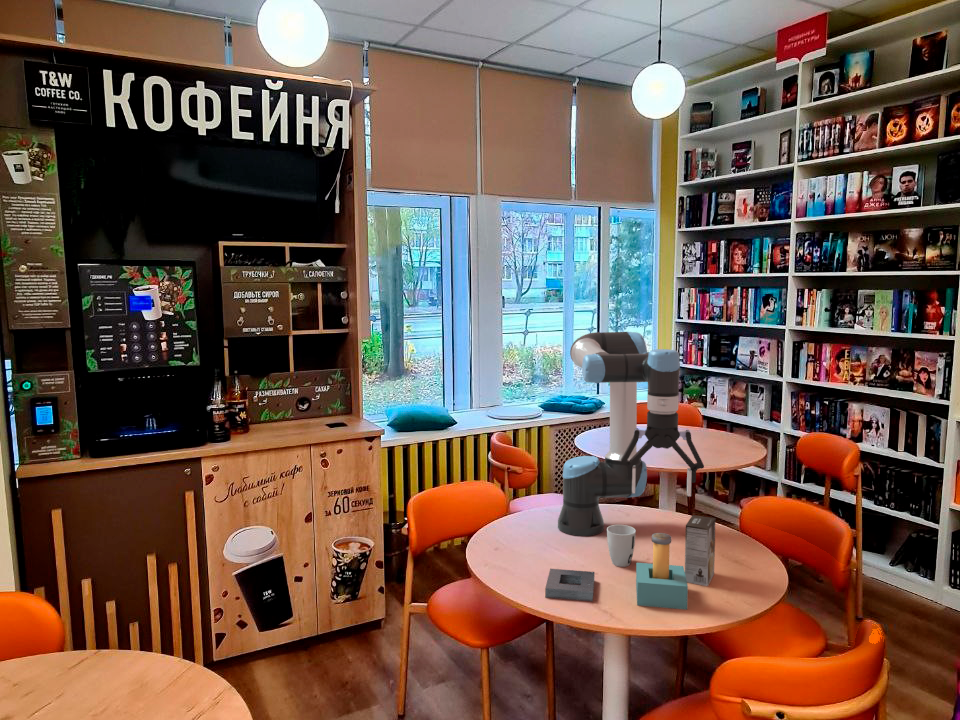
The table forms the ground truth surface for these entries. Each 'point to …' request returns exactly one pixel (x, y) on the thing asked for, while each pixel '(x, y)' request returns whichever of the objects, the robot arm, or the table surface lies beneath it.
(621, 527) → the cup
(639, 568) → the socket
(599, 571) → the table surface
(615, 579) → the table surface
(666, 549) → the pin
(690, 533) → the coffee box
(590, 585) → the mount
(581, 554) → the table surface
